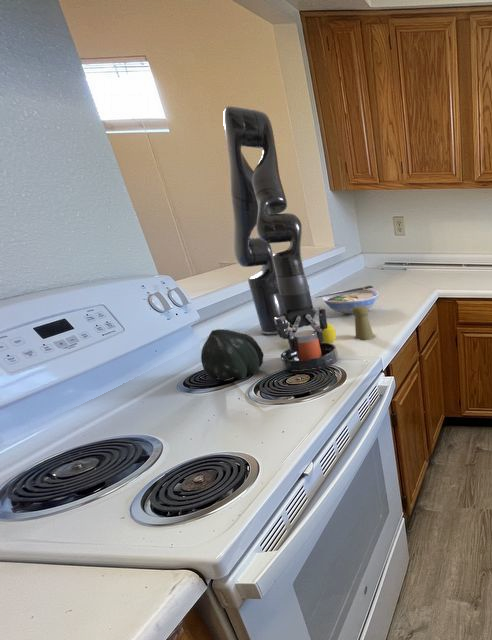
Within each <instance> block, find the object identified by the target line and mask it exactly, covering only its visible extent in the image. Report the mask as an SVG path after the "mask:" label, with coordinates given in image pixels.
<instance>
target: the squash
mask: <svg viewBox="0 0 492 640" xmlns="http://www.w3.org/2000/svg"><path fill="white" fill-rule="evenodd" d="M200 353H201V354H200V361H201V365H202V368H203V371H204V373H206V375H207V376H208V377H209V378H210V379H211V380H214V379H217V378H219V380H218V381H222V380H226V379H230V378H232V377H234V378H233V379H230V380H226V381H225V382H232V381H233V380H235V379H236V380H238V379H237V378H241V379H240V380H244V379H246V378H247V376H248V377H249V376H250V377H251V376H254V375H256V374H257V373H258V371H259V368H260V367H262V365H263V364H264V352H263V350H262V348H261V346H260V345H259V344H258V342H257V341H256V340H255V338H253V337H252V336H251V335H249V334H247V333H242V332H238V331H233V330H229V329H223V328H222V329H221V328H220V329H219V328H217V329H213V330H211V331H210V333H209V335H208V337H207V339H206V341H205V342H204V344H203V346H202V349H201V352H200Z"/></svg>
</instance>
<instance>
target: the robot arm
mask: <svg viewBox="0 0 492 640" xmlns="http://www.w3.org/2000/svg"><path fill="white" fill-rule="evenodd" d="M223 127H224V133H225V139H226V146H227V155H228V161H229V177H230V195H231V196H230V197H231V205H232V214H233V252H234V257H235V260H236V261H237V263H238V264H239V265H240V266H241V267H244V268H252V267H259V266H261V269H260V270H259V271H258V272H257V273H255V274H253V275H252V276H250V277H249V278H248V279H247V281H248V282H247V283H248V286H249V290H250V293H251V296H252V300H253V304H254V308H255V311H256V314H257V318H258V323H259V326H260V329H261V334H263V335H267V336H271V335H272V336H273V335H278V336H279V337H280V338H281V339H282V340H287V341H288V345H289V349H290V348H291V349H292V350H293V351H295V352H296V351H298V348H297V344H296V340H295V339H294V336H295V333H297V332H298V329H300V328H303V327H309V326H310V327H311V329H312V330H314V331H316V332H317V336H318V340H319V344H320V345H321V344H322V343H323V336H322V331H323V330H324V329H327V323H328V319H327V313H326V311H327V310H326V309H325V308H322V307H318V308H314V305H313V301H312V296H311V291H310V285H309V283H308V279H307V276H306V273H305V270H304V269H305V268H304V265H303V264H304V263H303V260H302V236H303V226H302V222H301V220H300V219H299V217H298V216H297V215H295V214H294V213H291V212H289V213H283V212H284V211H286V210H287V208H288V201H287V198H286V195H285V191H284V187H283V183H282V180H281V176H280V171H279V162H278V155H277V149H276V148H277V147H276V143H275V136H274V130H273V125H272V123H271V120H270V118H269V116H268V115H267V113H266V112H264V111H261V110H256V109H251V108H245V107H239V106H232V105H227V106H226V107H225V108H224V110H223ZM242 147H246V148H252V149H262V155H261V157H260V160H259V161H258V163H257V164H256V166H255V168H254V169H253V168H252V167H251V166H250V164H249V162H248V160H246V157H245V155H244V154H243V152H242ZM255 228H256V232H257V235H258V237H251V235H252V232H253V231H254V230H255ZM278 243H279V244H280V243H289V246H288V247H287V248H286V249H284V250H282V251H278V252H275V253H274V252H273V249H272V247H271V244H278ZM315 316H317V317H318V322H319V324H318V322H316V321H315V319H314V318H315Z"/></svg>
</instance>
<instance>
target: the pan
mask: <svg viewBox="0 0 492 640" xmlns="http://www.w3.org/2000/svg"><path fill="white" fill-rule="evenodd" d="M320 349H321V353H322V356H321V357H317V358H313V359H308V360H299V359H298V356H297V352H295V351H293V350H292V349H291V348H290V347H289V348H288V349H286V350H284V351H282V353H281V354H280V359H281V363H282V368H283V369H284V370H285V371H286V372H290V373H308V372H309V373H310V372H315V371H319V370H323V369H325V368H328V367H330V366H333V365H334V364H335V363H337V362H338V360H339V354H338V350H337V346H336V345H335V344H333V343H331V344H330V343H323V342H322V344H321V345H320ZM319 367H321V368H319ZM312 368H317V369H312ZM303 369H312V370H304V371H292V370H303Z"/></svg>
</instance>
